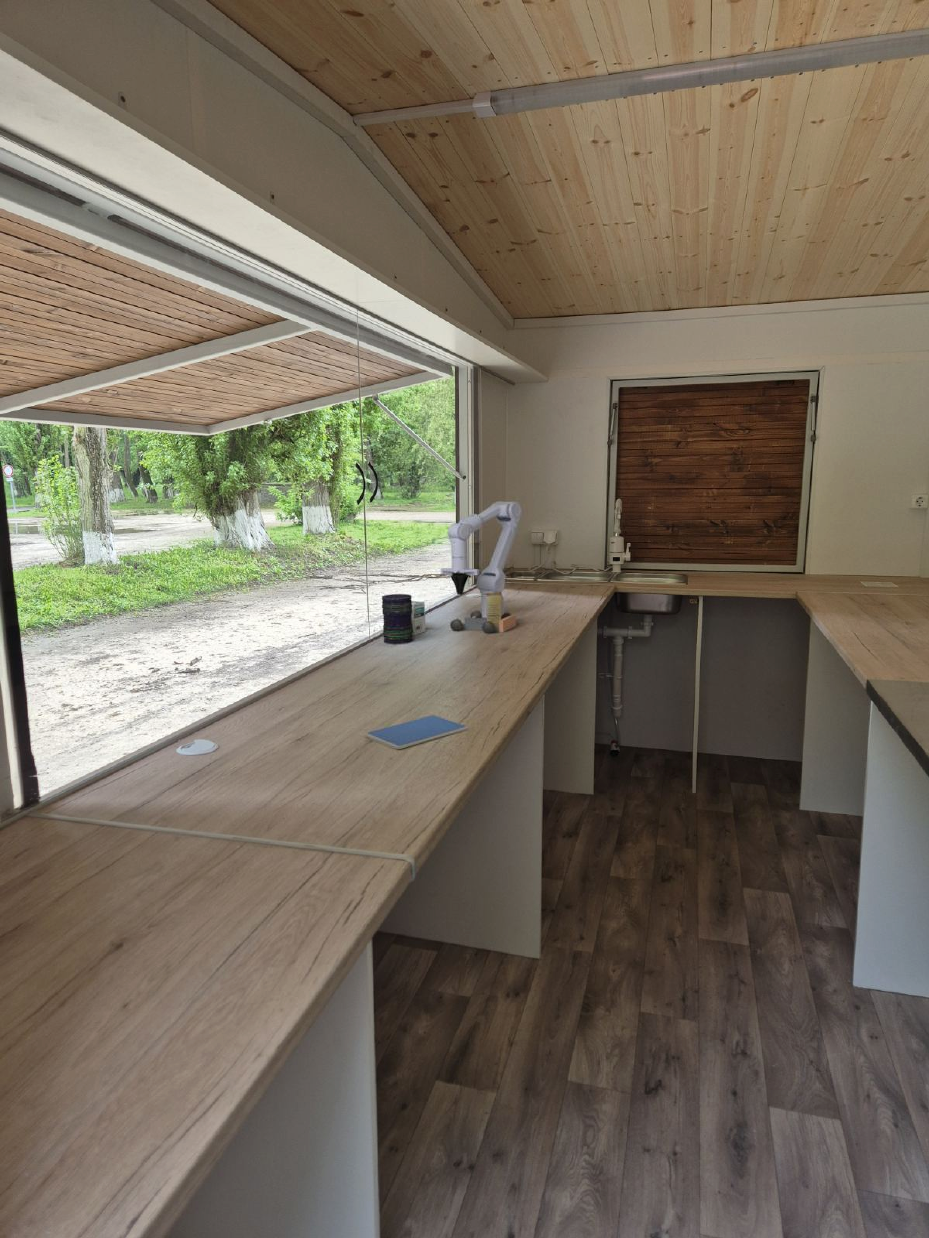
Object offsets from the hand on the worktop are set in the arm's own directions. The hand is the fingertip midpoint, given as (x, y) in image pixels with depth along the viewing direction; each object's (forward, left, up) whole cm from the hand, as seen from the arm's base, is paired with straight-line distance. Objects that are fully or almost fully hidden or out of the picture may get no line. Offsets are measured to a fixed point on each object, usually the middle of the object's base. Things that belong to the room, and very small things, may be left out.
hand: (460, 594), depth 297 cm
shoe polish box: (+6, +16, -11) cm, 20 cm away
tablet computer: (+117, +44, -11) cm, 125 cm away
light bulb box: (+22, -10, -11) cm, 26 cm away
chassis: (+6, +12, -10) cm, 17 cm away
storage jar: (+36, -6, -11) cm, 38 cm away
